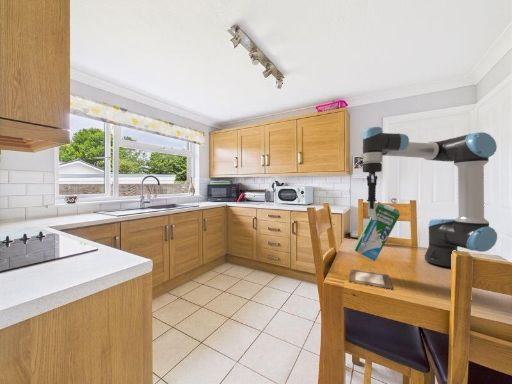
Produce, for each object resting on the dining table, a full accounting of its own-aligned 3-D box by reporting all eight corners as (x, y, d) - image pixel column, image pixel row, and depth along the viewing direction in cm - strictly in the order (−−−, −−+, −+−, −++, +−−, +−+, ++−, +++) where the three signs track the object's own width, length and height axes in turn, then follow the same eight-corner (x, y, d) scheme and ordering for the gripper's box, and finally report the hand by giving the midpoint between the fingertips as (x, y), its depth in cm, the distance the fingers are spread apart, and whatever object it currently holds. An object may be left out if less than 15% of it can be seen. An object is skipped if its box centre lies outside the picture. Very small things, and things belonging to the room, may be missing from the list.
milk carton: (354, 250, 99) (380, 201, 96) (354, 247, 107) (378, 201, 104) (375, 261, 95) (402, 210, 92) (373, 257, 104) (398, 209, 100)
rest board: (387, 276, 101) (387, 274, 101) (392, 290, 87) (392, 288, 87) (350, 270, 108) (350, 268, 108) (348, 283, 94) (349, 280, 94)
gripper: (362, 165, 105) (361, 214, 105) (362, 161, 93) (362, 217, 93) (380, 164, 101) (379, 215, 102) (383, 160, 89) (382, 218, 89)
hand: (371, 215), depth 97 cm, fingers closed on milk carton
